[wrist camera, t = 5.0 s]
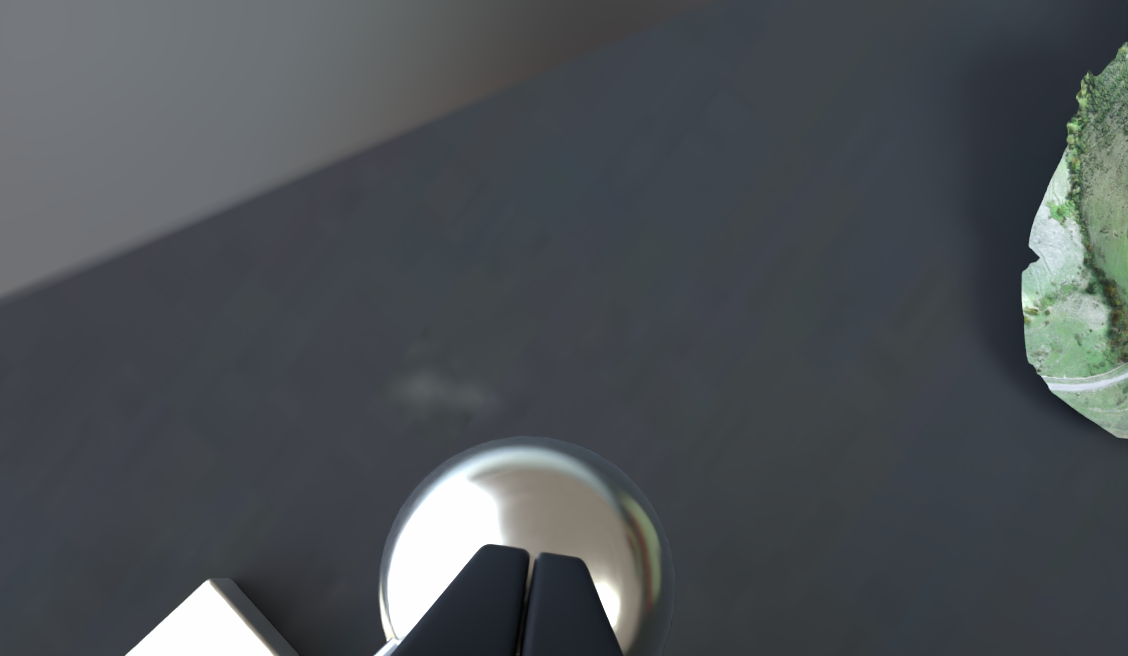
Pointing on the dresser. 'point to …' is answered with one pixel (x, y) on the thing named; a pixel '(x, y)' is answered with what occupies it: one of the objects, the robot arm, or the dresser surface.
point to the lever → (532, 534)
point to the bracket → (214, 627)
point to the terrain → (1085, 259)
